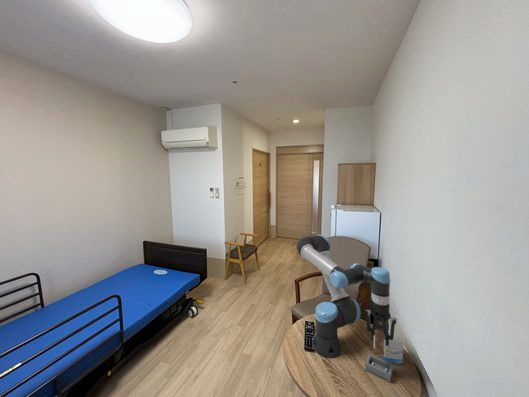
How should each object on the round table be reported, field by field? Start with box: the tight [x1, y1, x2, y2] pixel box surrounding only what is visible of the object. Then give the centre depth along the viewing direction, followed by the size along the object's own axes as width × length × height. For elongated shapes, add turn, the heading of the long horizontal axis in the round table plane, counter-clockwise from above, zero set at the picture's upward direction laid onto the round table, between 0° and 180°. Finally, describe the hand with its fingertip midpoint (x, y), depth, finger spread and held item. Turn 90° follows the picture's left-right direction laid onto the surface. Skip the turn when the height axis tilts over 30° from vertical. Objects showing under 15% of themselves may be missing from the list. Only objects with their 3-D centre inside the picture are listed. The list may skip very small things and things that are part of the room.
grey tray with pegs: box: [364, 353, 394, 383], centre depth 102 cm, size 10×7×4 cm
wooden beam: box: [374, 323, 385, 358], centre depth 100 cm, size 4×4×13 cm
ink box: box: [382, 329, 404, 365], centre depth 109 cm, size 8×8×12 cm
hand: (379, 348), depth 100 cm, fingers closed on wooden beam, 3 cm apart
